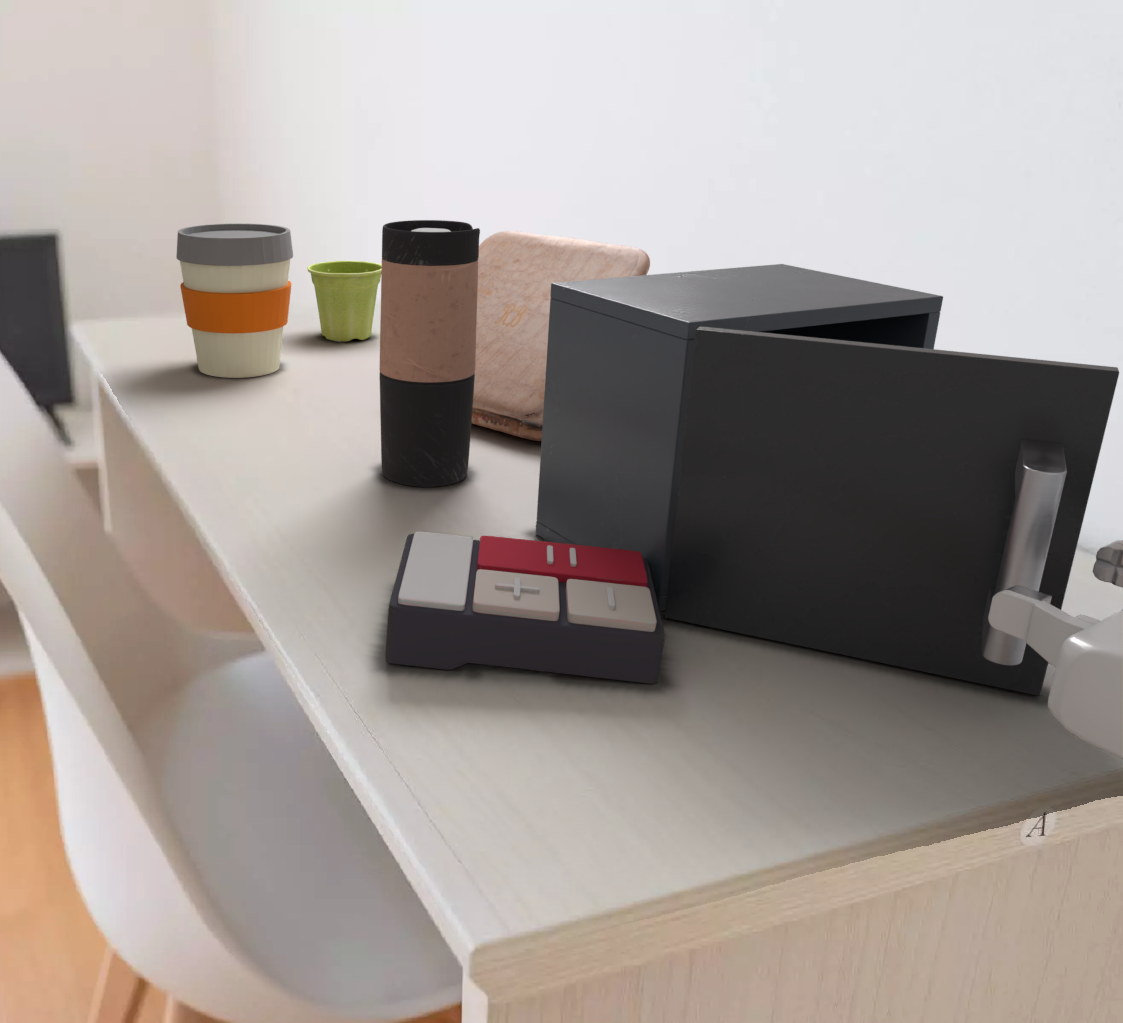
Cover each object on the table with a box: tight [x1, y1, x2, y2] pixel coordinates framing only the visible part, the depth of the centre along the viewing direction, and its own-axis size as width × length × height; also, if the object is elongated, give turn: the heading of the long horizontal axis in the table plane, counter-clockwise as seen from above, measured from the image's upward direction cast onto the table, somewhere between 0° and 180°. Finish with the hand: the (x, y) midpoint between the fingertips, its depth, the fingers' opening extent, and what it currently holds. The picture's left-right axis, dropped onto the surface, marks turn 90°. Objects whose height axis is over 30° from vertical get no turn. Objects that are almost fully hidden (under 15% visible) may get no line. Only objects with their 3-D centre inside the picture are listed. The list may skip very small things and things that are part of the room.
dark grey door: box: [664, 326, 1120, 697], centre depth 61 cm, size 6×20×18 cm, turn 62°
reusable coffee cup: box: [175, 223, 294, 379], centre depth 126 cm, size 13×13×15 cm
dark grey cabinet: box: [535, 263, 944, 612], centre depth 78 cm, size 14×20×18 cm
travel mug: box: [379, 219, 481, 488], centre depth 92 cm, size 8×8×20 cm
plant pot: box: [307, 260, 382, 343], centre depth 142 cm, size 9×9×9 cm
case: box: [471, 230, 651, 442], centre depth 111 cm, size 20×21×16 cm
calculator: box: [384, 531, 666, 685], centre depth 68 cm, size 11×4×15 cm
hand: (1052, 579), depth 54 cm, fingers open, 8 cm apart
